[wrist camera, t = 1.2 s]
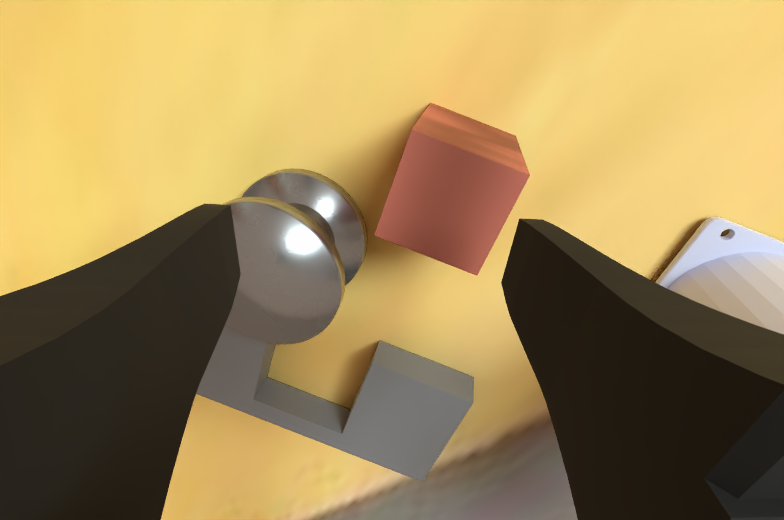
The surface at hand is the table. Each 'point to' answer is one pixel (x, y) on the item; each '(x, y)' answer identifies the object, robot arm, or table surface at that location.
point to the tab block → (453, 189)
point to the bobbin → (293, 255)
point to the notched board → (369, 410)
